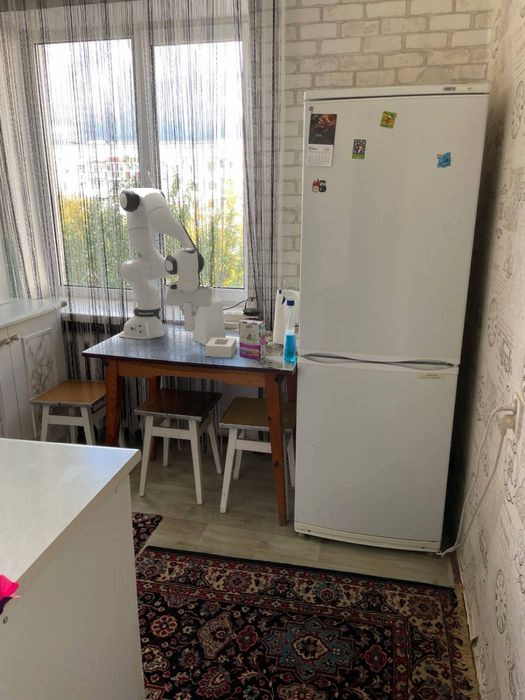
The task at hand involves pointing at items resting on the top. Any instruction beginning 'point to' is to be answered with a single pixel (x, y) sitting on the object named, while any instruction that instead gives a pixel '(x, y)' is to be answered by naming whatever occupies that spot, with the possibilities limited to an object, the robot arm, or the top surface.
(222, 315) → the milk
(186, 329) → the block
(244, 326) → the candy bar box
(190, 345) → the top surface
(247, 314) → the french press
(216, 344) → the slotted post base
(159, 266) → the robot arm
